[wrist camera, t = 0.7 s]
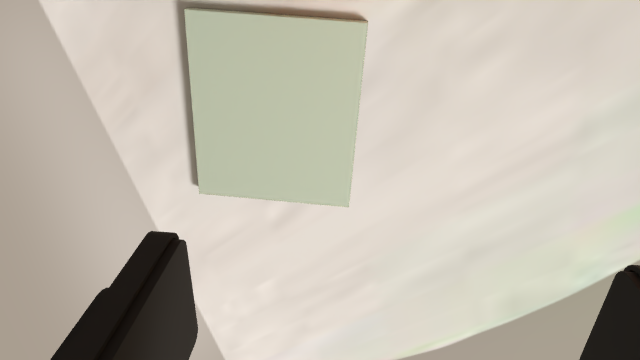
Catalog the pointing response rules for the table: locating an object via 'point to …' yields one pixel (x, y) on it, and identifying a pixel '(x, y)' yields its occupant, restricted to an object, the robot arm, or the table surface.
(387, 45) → the table surface
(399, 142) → the table surface
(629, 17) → the table surface
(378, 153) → the table surface
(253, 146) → the sage board
